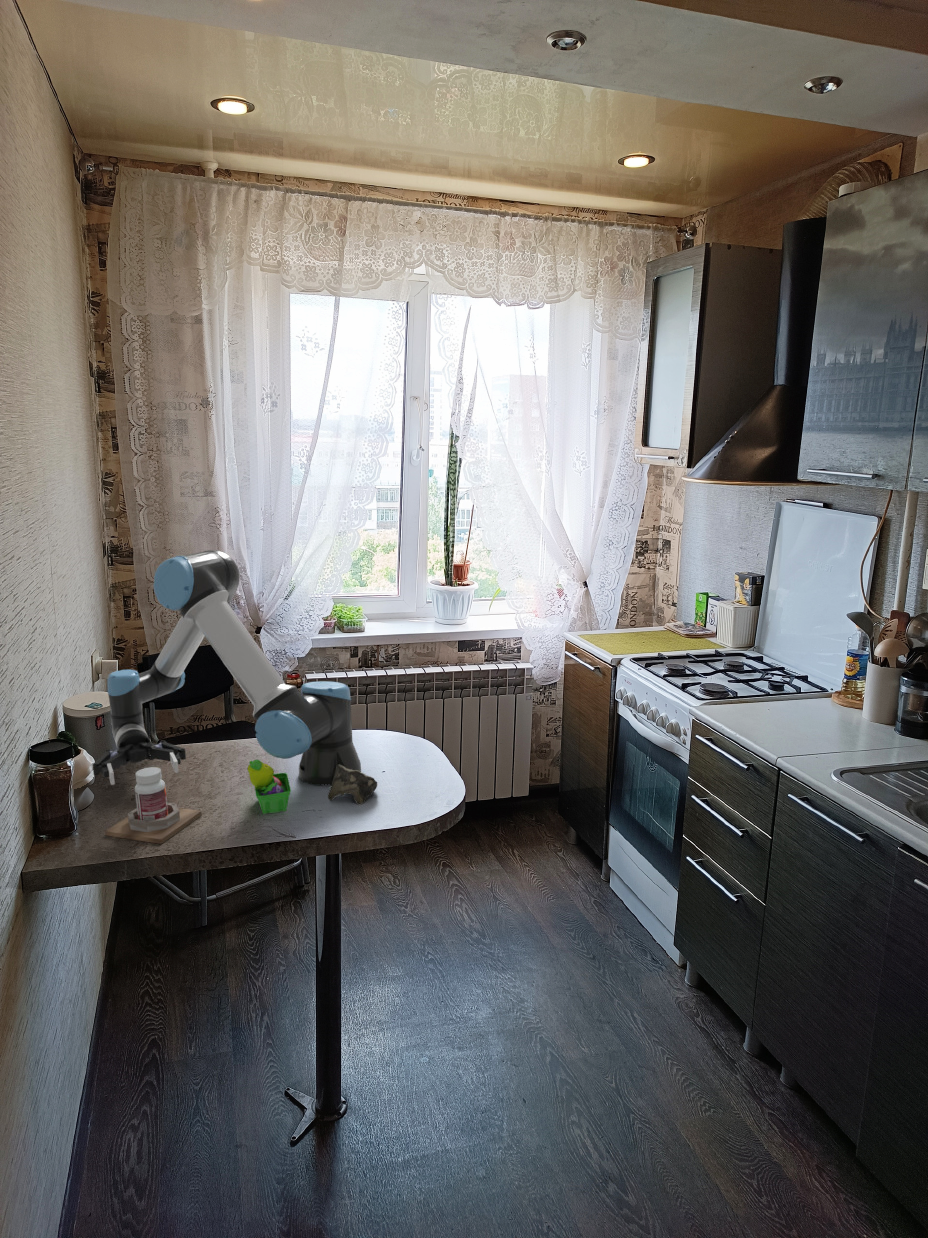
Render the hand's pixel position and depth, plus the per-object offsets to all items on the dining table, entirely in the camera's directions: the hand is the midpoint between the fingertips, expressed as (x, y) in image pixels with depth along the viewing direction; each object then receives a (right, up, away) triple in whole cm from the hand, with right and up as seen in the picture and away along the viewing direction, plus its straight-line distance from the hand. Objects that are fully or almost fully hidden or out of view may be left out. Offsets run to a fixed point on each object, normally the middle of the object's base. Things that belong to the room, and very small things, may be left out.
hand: (144, 773), depth 191 cm
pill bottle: (+4, -9, -7) cm, 12 cm away
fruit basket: (+27, -8, +3) cm, 29 cm away
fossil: (+46, -7, +7) cm, 47 cm away
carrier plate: (+5, -10, -7) cm, 13 cm away
